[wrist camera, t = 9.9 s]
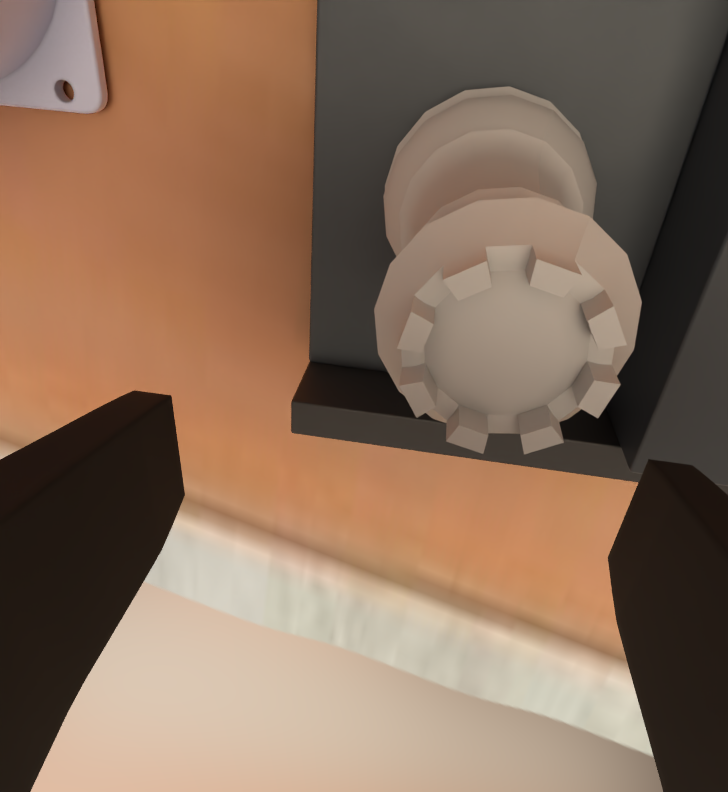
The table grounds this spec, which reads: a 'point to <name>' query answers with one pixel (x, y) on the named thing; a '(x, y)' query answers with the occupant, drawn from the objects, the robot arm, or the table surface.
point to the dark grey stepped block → (613, 211)
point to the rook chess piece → (501, 273)
